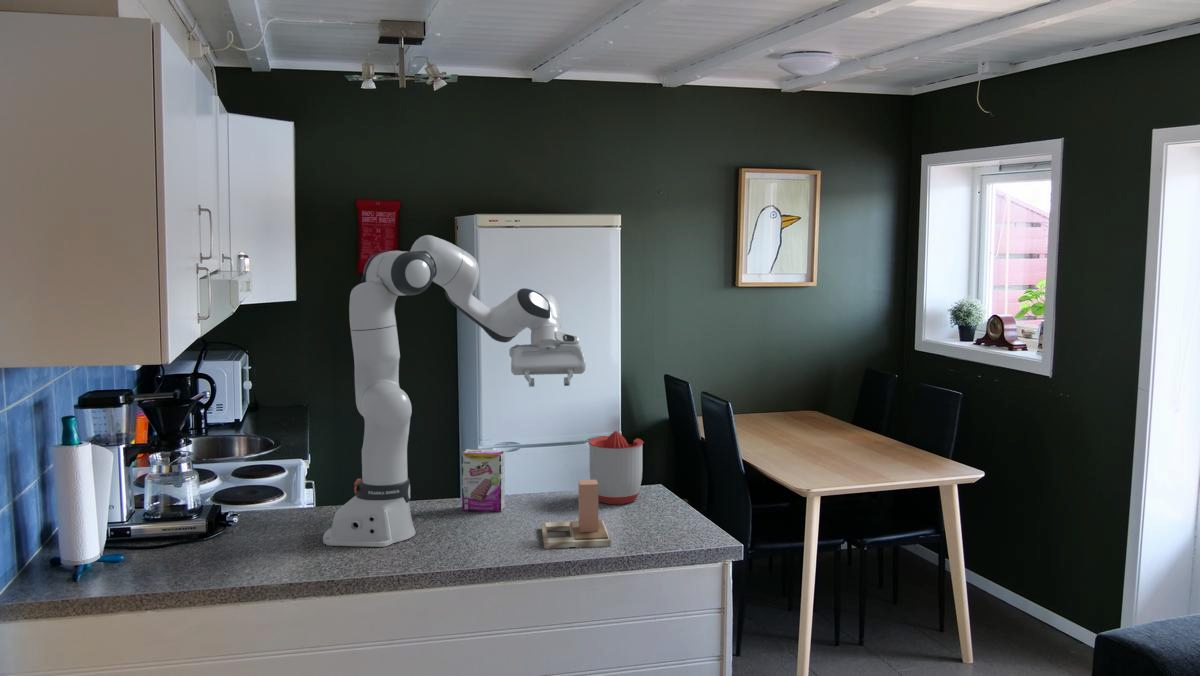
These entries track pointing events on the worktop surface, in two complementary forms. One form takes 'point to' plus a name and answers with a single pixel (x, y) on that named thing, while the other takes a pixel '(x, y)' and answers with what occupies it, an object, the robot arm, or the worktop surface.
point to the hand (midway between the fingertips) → (549, 385)
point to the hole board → (573, 535)
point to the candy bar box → (483, 480)
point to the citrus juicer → (616, 468)
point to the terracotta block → (588, 505)
